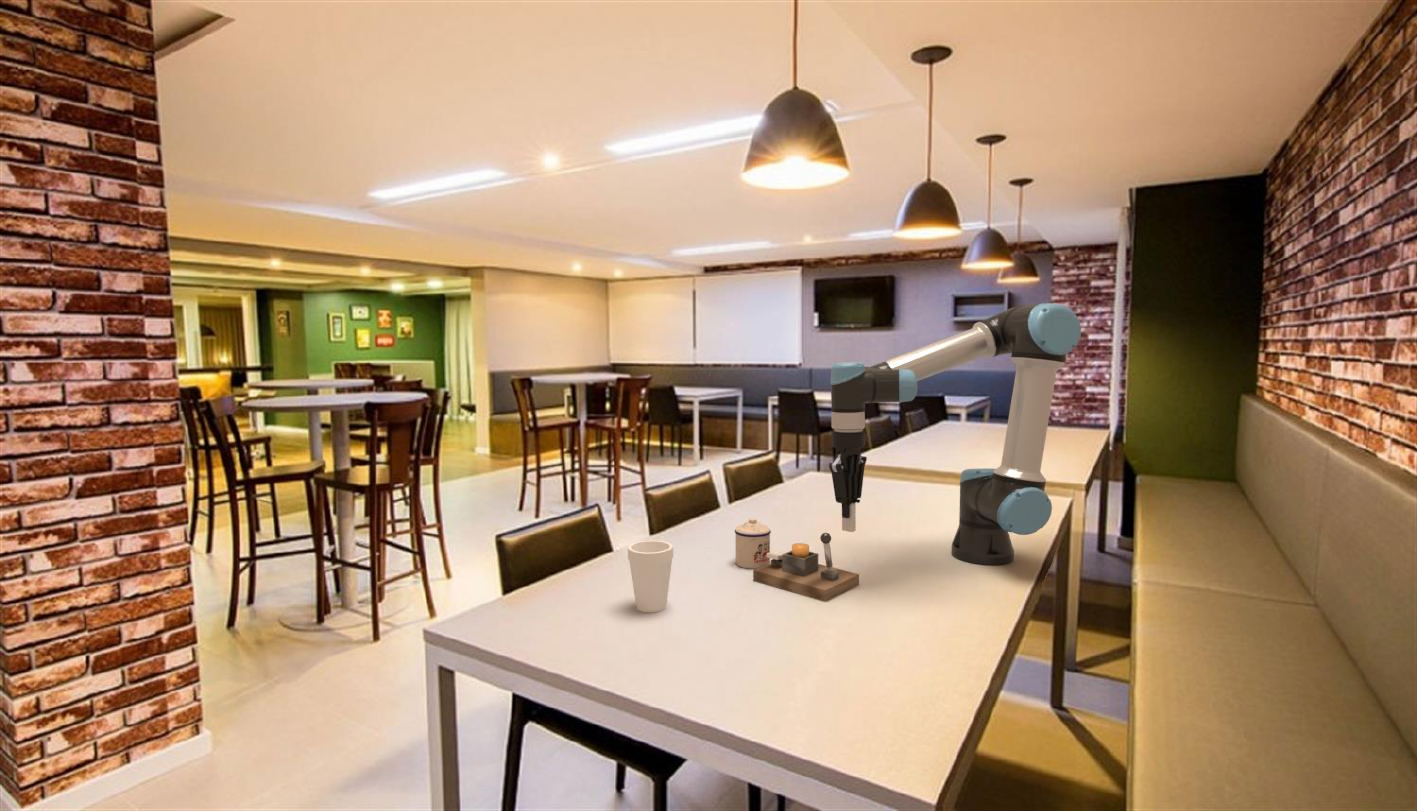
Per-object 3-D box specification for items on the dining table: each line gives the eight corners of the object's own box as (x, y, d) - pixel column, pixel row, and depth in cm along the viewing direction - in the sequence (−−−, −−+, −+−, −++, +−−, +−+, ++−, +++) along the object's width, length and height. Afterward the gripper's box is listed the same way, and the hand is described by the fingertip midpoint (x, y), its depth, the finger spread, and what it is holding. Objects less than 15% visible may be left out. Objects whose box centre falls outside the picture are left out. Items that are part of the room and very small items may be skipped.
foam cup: (638, 618, 140) (637, 556, 139) (622, 603, 148) (621, 544, 147) (680, 610, 144) (680, 549, 143) (663, 596, 152) (662, 538, 151)
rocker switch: (792, 558, 166) (793, 554, 166) (777, 560, 162) (777, 555, 162) (782, 555, 168) (782, 551, 168) (766, 557, 164) (766, 552, 164)
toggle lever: (837, 567, 156) (832, 532, 153) (831, 572, 154) (826, 536, 152) (828, 565, 157) (823, 530, 155) (822, 569, 155) (817, 534, 153)
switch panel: (859, 584, 159) (859, 557, 158) (825, 601, 148) (826, 572, 148) (788, 566, 172) (788, 540, 172) (753, 580, 162) (753, 553, 161)
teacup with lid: (758, 572, 168) (758, 525, 167) (727, 565, 173) (727, 519, 172) (782, 559, 178) (783, 515, 177) (752, 553, 183) (752, 510, 182)
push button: (812, 558, 161) (812, 545, 161) (802, 562, 158) (802, 549, 158) (798, 554, 164) (798, 542, 163) (788, 558, 161) (788, 545, 160)
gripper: (848, 425, 165) (849, 522, 167) (818, 432, 156) (819, 534, 158) (876, 427, 160) (877, 527, 162) (847, 434, 151) (848, 539, 153)
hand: (848, 530), depth 160 cm, fingers closed
